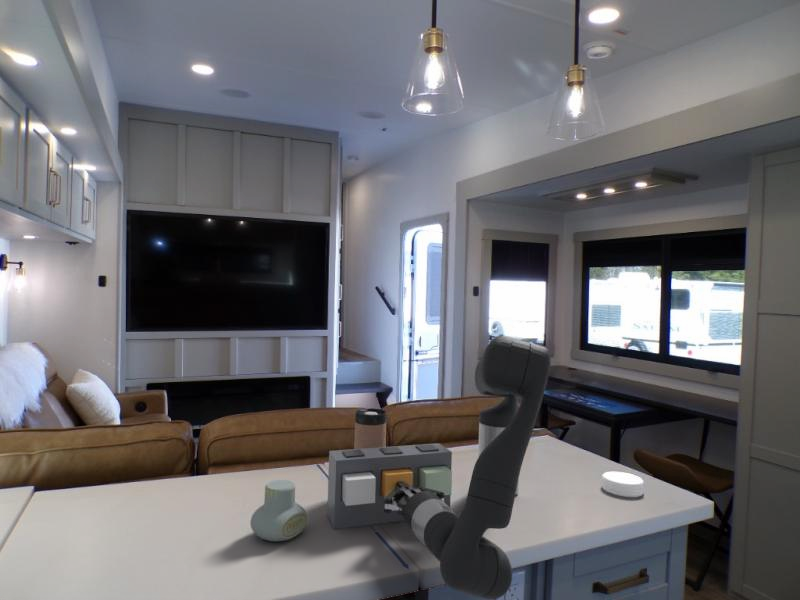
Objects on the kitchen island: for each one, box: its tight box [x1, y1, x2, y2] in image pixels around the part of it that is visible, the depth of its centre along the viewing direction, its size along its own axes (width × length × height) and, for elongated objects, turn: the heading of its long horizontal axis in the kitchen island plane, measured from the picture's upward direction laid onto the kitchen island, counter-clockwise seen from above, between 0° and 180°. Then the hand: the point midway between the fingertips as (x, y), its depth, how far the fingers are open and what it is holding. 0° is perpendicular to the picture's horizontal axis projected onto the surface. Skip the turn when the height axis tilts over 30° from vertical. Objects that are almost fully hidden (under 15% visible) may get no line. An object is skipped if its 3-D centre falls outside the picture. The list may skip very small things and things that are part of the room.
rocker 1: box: [341, 471, 376, 506], centre depth 106 cm, size 6×7×5 cm
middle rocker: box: [380, 468, 413, 498], centre depth 110 cm, size 6×7×5 cm
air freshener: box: [250, 479, 308, 542], centre depth 102 cm, size 11×8×10 cm
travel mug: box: [353, 408, 387, 449], centre depth 124 cm, size 8×8×20 cm
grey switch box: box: [326, 443, 453, 530], centre depth 112 cm, size 26×7×14 cm, turn 109°
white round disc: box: [601, 471, 645, 498], centre depth 132 cm, size 10×10×4 cm
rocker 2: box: [418, 465, 453, 495], centre depth 112 cm, size 6×7×5 cm
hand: (399, 486), depth 107 cm, fingers closed
